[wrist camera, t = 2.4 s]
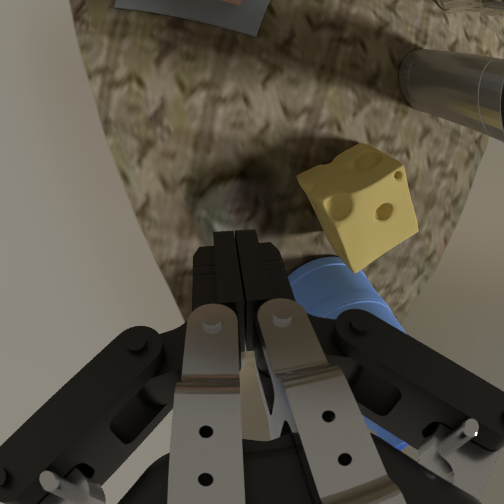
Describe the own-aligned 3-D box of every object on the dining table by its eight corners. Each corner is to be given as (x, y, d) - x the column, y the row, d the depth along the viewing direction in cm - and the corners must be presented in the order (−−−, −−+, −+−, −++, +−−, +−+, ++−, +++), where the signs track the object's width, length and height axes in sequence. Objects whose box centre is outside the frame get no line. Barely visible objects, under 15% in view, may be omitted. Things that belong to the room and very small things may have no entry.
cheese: (292, 175, 39) (323, 208, 30) (363, 137, 37) (408, 160, 29) (322, 235, 44) (352, 277, 36) (384, 199, 43) (424, 233, 35)
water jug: (288, 248, 44) (381, 429, 21) (376, 258, 49) (480, 394, 25) (260, 328, 52) (310, 488, 29) (340, 329, 56) (407, 459, 33)
